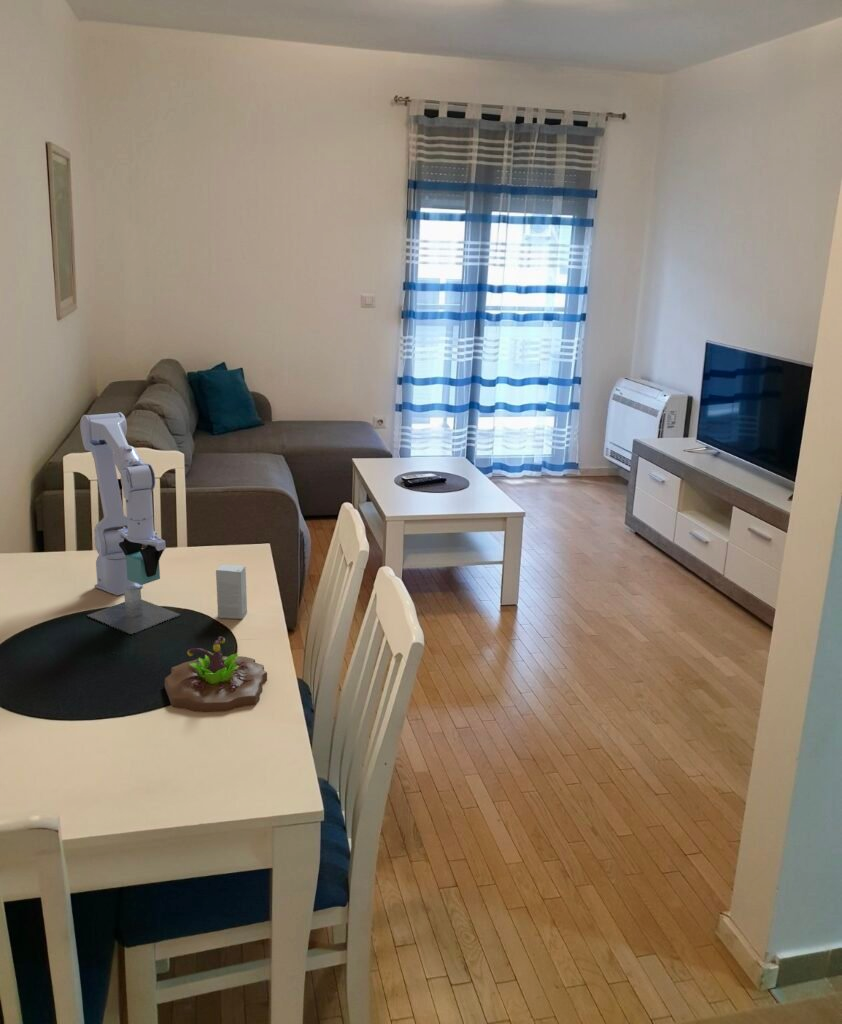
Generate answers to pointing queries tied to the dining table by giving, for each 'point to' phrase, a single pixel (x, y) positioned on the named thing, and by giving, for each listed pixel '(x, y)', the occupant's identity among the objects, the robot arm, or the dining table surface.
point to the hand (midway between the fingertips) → (143, 572)
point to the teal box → (139, 569)
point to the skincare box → (231, 591)
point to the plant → (215, 681)
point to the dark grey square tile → (133, 613)
